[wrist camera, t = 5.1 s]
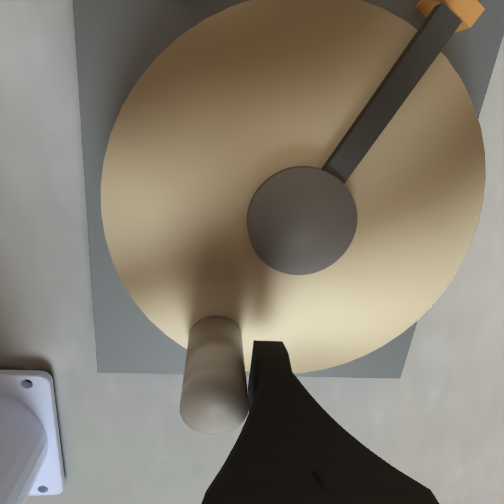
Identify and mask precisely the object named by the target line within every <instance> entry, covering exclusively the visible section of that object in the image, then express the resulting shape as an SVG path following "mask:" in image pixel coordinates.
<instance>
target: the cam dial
mask: <svg viewBox="0 0 504 504" xmlns="http://www.w3.org/2000/svg"><path fill="white" fill-rule="evenodd" d="M461 23H462V20H461V19H460V18H459V17H458V16H457V15H456V14H455V13H454V12H452V11H451V10H450V9H449V8H448V7H447V6H446V5H445V4H444V3H443V2H442V3H440V4H438V5H436V6H434V8H433V9H432V11H431V12H430V14H429V15H428V17H427V18H426V19H425V21H424V22H423V24H422V25H421V27H420V28H419V29H418V30H417V29H416V28H414V27H413V26H412V25H410V24H409V23H408V22H407V21H405V20H403V19H401V18H399V17H398V16H396V15H394V14H392V13H390V12H388V11H387V10H385V9H383V8H381V7H378V6H375V5H372V4H370V3H367V2H364V1H361V0H250V1H247V2H243V3H240V4H237V5H234V6H231V7H229V8H227V9H225V10H223V11H221V12H219V13H217V14H215V15H213V16H210V17H208V18H206V19H204V20H203V21H201V22H200V23H198V24H197V25H196V26H194V27H193V28H191V29H190V30H188V31H187V32H185V33H184V34H182V35H181V36H179V37H178V38H177V39H176V40H175V41H174V42H173V43H172V44H171V45H169V46H168V47H167V48H166V49H165V50H164V51H163V52H162V53H161V54H160V55H159V56H158V57H156V59H155V60H154V61H153V62H152V64H151V65H150V66H149V67H148V68H147V70H146V71H145V72H144V73H143V75H142V76H141V77H140V78H139V80H138V81H137V82H136V84H135V86H134V87H133V89H132V91H131V92H130V94H129V96H128V97H127V99H126V101H125V102H124V104H123V106H122V108H121V110H120V112H119V115H118V117H117V120H116V122H115V124H114V127H113V129H112V132H111V134H110V138H109V142H108V146H107V150H106V153H105V157H104V162H103V170H102V179H101V215H102V221H103V228H104V234H105V239H106V242H107V246H108V249H109V252H110V255H111V258H112V262H113V264H114V266H115V268H116V270H117V272H118V275H119V277H120V279H121V281H122V283H123V285H124V286H125V288H126V289H127V291H128V293H129V294H130V296H131V297H132V299H133V300H134V302H135V303H136V305H137V306H138V307H139V308H140V309H141V310H142V312H143V313H144V314H145V315H146V316H147V318H148V319H149V320H150V321H151V322H152V323H153V324H154V325H156V326H157V327H158V328H159V329H160V330H161V331H162V332H163V333H164V334H165V335H167V336H168V337H170V338H171V339H172V340H174V341H175V342H177V343H178V344H179V345H181V346H182V347H184V348H186V349H187V354H186V362H185V370H184V378H183V386H182V394H181V402H180V414H181V417H182V419H183V421H184V422H185V424H186V425H187V426H189V427H190V428H191V429H193V430H195V431H197V432H200V433H204V434H222V433H226V432H229V431H231V430H233V429H235V428H236V427H238V426H239V425H240V424H241V423H242V422H243V421H244V420H245V418H246V416H247V414H248V410H249V402H248V392H247V383H246V373H245V371H248V372H250V367H251V358H252V350H253V341H254V340H258V341H282V342H283V344H284V345H285V347H286V349H287V351H288V354H289V358H290V363H291V368H292V372H293V373H294V374H297V373H307V372H312V371H318V370H324V369H327V368H331V367H335V366H338V365H342V364H345V363H347V362H350V361H352V360H355V359H357V358H360V357H362V356H365V355H367V354H369V353H370V352H372V351H374V350H376V349H378V348H380V347H382V346H384V345H385V344H387V343H388V342H390V341H391V340H393V339H394V338H396V337H397V336H399V335H400V334H402V333H403V332H404V331H405V330H407V329H408V328H409V327H410V326H411V325H413V324H414V323H415V322H416V321H418V320H419V319H420V318H421V317H422V316H423V315H424V314H425V313H426V312H427V311H428V310H429V309H430V307H431V306H432V305H433V304H434V303H435V302H436V301H437V299H438V298H439V297H440V296H441V294H442V293H443V292H444V291H445V289H446V288H447V287H448V285H449V284H450V282H451V281H452V279H453V278H454V276H455V274H456V273H457V271H458V270H459V268H460V266H461V264H462V262H463V260H464V258H465V256H466V254H467V252H468V250H469V248H470V245H471V242H472V240H473V237H474V234H475V231H476V229H477V226H478V222H479V217H480V213H481V209H482V204H483V197H484V187H485V151H484V145H483V139H482V133H481V127H480V124H479V121H478V118H477V114H476V111H475V108H474V105H473V102H472V100H471V98H470V96H469V94H468V92H467V90H466V88H465V86H464V84H463V81H462V80H461V78H460V77H459V75H458V74H457V72H456V71H455V69H454V68H453V66H452V65H451V63H450V62H449V61H448V59H447V58H446V57H445V56H444V55H443V53H442V52H441V50H442V49H443V48H444V46H445V45H446V43H447V42H448V41H449V39H450V38H451V37H452V35H453V34H454V32H455V31H456V30H457V28H458V27H459V25H460V24H461Z"/></svg>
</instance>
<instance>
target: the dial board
mask: <svg viewBox="0 0 504 504" xmlns="http://www.w3.org/2000/svg"><path fill="white" fill-rule="evenodd" d="M247 1H250V0H73V8H74V24H75V39H76V54H77V69H78V84H79V99H80V114H81V129H82V144H83V159H84V174H85V190H86V205H87V220H88V235H89V250H90V265H91V280H92V295H93V310H94V325H95V341H96V356H97V371H98V372H101V373H151V374H184V370H185V362H186V354H187V349H186V348H184V347H182V346H181V345H179V344H178V343H177V342H175V341H174V340H172V339H171V338H170V337H168V336H167V335H165V334H164V333H163V332H162V331H161V330H160V329H159V328H158V327H157V326H156V325H154V324H153V323H152V322H151V321H150V320H149V319H148V318H147V316H146V315H145V314H144V313H143V312H142V310H141V309H140V308H139V307H138V306H137V305H136V303H135V302H134V300H133V299H132V297H131V296H130V294H129V293H128V291H127V289H126V288H125V286H124V285H123V283H122V281H121V279H120V277H119V275H118V272H117V270H116V268H115V266H114V264H113V262H112V258H111V255H110V252H109V249H108V246H107V242H106V239H105V234H104V228H103V221H102V215H101V179H102V170H103V162H104V157H105V153H106V150H107V146H108V142H109V138H110V134H111V132H112V129H113V127H114V124H115V122H116V120H117V117H118V115H119V112H120V110H121V108H122V106H123V104H124V102H125V101H126V99H127V97H128V96H129V94H130V92H131V91H132V89H133V87H134V86H135V84H136V82H137V81H138V80H139V78H140V77H141V76H142V75H143V73H144V72H145V71H146V70H147V68H148V67H149V66H150V65H151V64H152V62H153V61H154V60H155V59H156V57H158V56H159V55H160V54H161V53H162V52H163V51H164V50H165V49H166V48H167V47H168V46H169V45H171V44H172V43H173V42H174V41H175V40H176V39H177V38H178V37H179V36H181V35H182V34H184V33H185V32H187V31H188V30H190V29H191V28H193V27H194V26H196V25H197V24H198V23H200V22H201V21H203V20H204V19H206V18H208V17H210V16H213V15H215V14H217V13H219V12H221V11H223V10H225V9H227V8H229V7H231V6H234V5H237V4H240V3H243V2H247ZM361 1H364V2H367V3H370V4H372V5H375V6H378V7H381V8H383V9H385V10H387V11H388V12H390V13H392V14H394V15H396V16H398V17H399V18H401V19H403V20H405V21H407V22H408V23H409V24H410V25H412V26H413V27H414V28H416V29H417V30H418V29H419V28H420V27H421V25H422V24H423V22H424V21H425V19H426V18H427V17H428V15H429V14H430V12H431V11H432V9H433V8H434V6H436V5H438V4H440V3H442V2H443V3H444V4H445V5H446V6H447V7H448V8H449V9H450V10H451V11H452V12H454V13H455V14H456V15H457V16H458V17H459V18H460V19H461V20H462V23H461V24H460V25H459V27H458V28H457V30H456V31H455V32H454V34H453V35H452V37H451V38H450V39H449V41H448V42H447V43H446V45H445V46H444V48H443V49H442V50H441V52H442V53H443V55H444V56H445V57H446V58H447V59H448V61H449V62H450V63H451V65H452V66H453V68H454V69H455V71H456V72H457V74H458V75H459V77H460V78H461V80H462V81H463V84H464V86H465V88H466V90H467V92H468V94H469V96H470V98H471V100H472V102H473V105H474V108H475V111H476V114H477V118H479V114H480V111H481V108H482V104H483V101H484V98H485V94H486V91H487V88H488V84H489V81H490V78H491V74H492V71H493V68H494V64H495V61H496V58H497V54H498V51H499V48H500V44H501V41H502V38H503V34H504V0H361ZM416 324H417V321H416V322H415V323H414V324H413V325H411V326H410V327H409V328H408V329H407V330H405V331H404V332H403V333H402V334H400V335H399V336H397V337H396V338H394V339H393V340H391V341H390V342H388V343H387V344H385V345H384V346H382V347H380V348H378V349H376V350H374V351H372V352H370V353H369V354H367V355H365V356H362V357H360V358H357V359H355V360H352V361H350V362H347V363H345V364H342V365H338V366H335V367H331V368H327V369H324V370H318V371H312V372H307V373H297V374H294V375H295V376H303V377H354V378H400V377H401V373H402V370H403V367H404V364H405V360H406V357H407V354H408V350H409V347H410V344H411V340H412V337H413V334H414V330H415V327H416ZM245 373H246V375H250V372H248V371H245Z"/></svg>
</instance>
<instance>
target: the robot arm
mask: <svg viewBox="0 0 504 504" xmlns="http://www.w3.org/2000/svg"><path fill="white" fill-rule="evenodd" d="M25 379H26V380H30V381H31V382H32V383H30V382H27V381H26V380H25ZM248 402H249V415H248V417H247V420H246V422H245V424H244V426H243V429H242V431H241V433H240V435H239V437H238V439H237V441H236V443H235V445H234V447H233V449H232V451H231V452H230V454H229V456H228V458H227V460H226V461H225V463H224V465H223V466H222V468H221V470H220V471H219V473H218V474H217V476H216V477H215V479H214V480H213V482H212V483H211V485H210V486H209V488H208V489H207V491H206V493H205V496H204V499H203V501H202V504H439V502H438V501H437V499H436V498H435V496H434V495H433V493H432V491H431V490H430V489H428V488H426V487H425V486H423V485H422V484H420V483H418V482H417V481H415V480H413V479H412V478H410V477H409V476H407V475H405V474H404V473H402V472H400V471H399V470H397V469H396V468H394V467H393V466H391V465H390V464H388V463H387V462H386V461H384V460H383V459H381V458H380V457H378V456H377V455H376V454H374V453H373V452H372V451H370V450H369V449H368V448H366V447H365V446H364V445H362V444H361V443H360V442H359V441H358V440H356V439H355V438H354V437H353V436H352V435H350V434H349V433H348V432H347V431H346V430H345V429H343V428H342V427H341V426H340V425H339V424H338V423H337V422H336V421H335V420H334V419H333V418H332V417H331V416H330V415H329V414H328V413H327V412H326V411H325V410H324V409H323V408H322V407H321V406H320V405H319V404H318V403H317V402H316V401H315V399H314V398H313V397H312V396H311V395H310V394H309V392H308V391H307V390H306V389H305V388H304V386H303V385H302V384H301V382H300V381H299V380H298V379H297V377H296V376H295V375H294V373H293V372H292V368H291V363H290V358H289V354H288V351H287V349H286V347H285V345H284V344H283V342H282V341H258V340H254V341H253V350H252V358H251V367H250V375H249V383H248ZM64 486H65V477H64V469H63V461H62V453H61V445H60V436H59V428H58V420H57V412H56V403H55V395H54V387H53V379H52V377H51V375H50V374H49V373H47V372H45V371H39V370H0V504H24V503H25V501H26V499H27V496H28V495H57V494H59V493H61V492H62V491H63V488H64Z"/></svg>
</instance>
